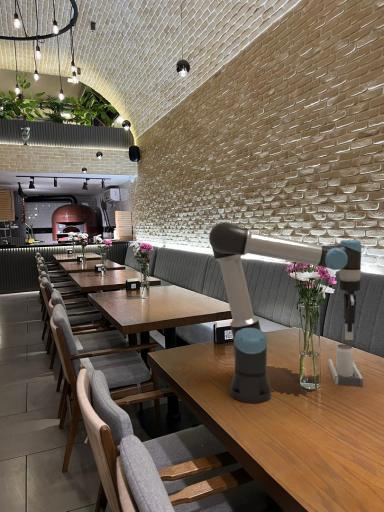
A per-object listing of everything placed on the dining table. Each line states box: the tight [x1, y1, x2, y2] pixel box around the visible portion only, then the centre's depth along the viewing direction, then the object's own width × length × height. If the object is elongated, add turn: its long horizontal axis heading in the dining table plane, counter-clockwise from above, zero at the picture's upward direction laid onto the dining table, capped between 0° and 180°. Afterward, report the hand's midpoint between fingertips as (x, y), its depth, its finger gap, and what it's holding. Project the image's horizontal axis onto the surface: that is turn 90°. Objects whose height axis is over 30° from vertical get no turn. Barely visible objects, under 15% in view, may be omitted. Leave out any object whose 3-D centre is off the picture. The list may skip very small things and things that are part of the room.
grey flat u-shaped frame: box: [328, 358, 364, 387], centre depth 158 cm, size 20×10×3 cm, turn 167°
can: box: [335, 343, 354, 377], centre depth 158 cm, size 6×6×12 cm
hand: (348, 339), depth 150 cm, fingers closed
